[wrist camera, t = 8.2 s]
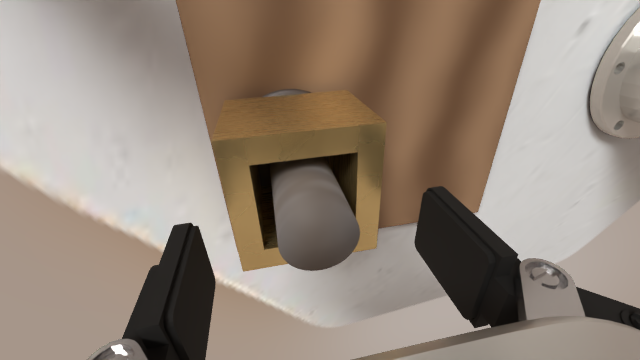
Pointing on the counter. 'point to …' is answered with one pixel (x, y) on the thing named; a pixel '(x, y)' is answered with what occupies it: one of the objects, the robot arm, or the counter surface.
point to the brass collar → (292, 144)
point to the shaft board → (367, 96)
